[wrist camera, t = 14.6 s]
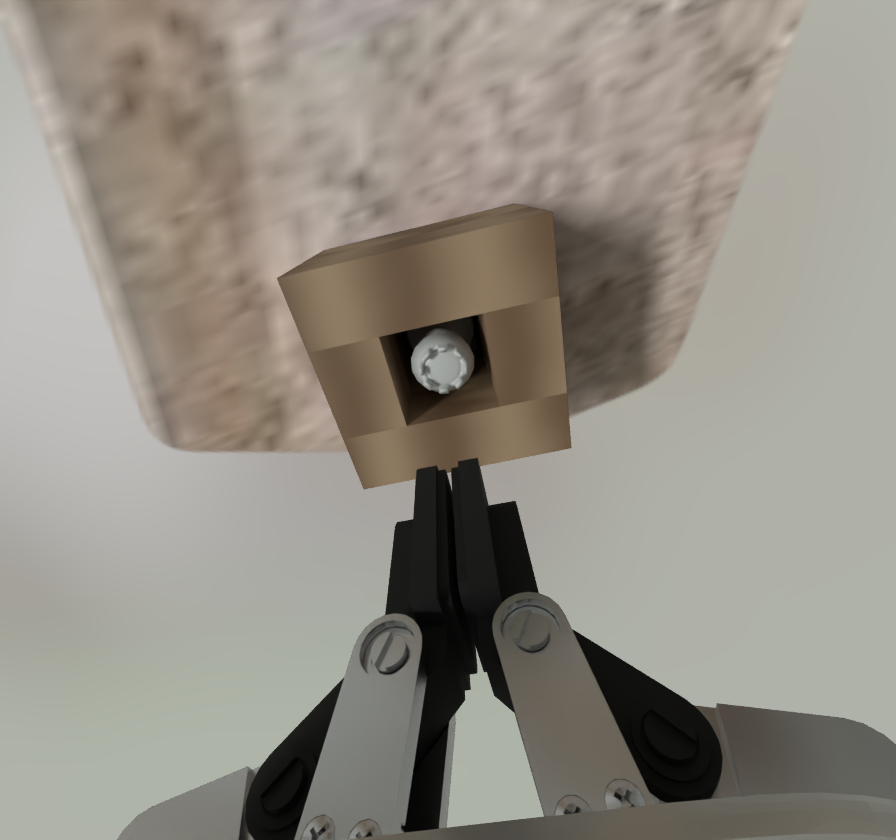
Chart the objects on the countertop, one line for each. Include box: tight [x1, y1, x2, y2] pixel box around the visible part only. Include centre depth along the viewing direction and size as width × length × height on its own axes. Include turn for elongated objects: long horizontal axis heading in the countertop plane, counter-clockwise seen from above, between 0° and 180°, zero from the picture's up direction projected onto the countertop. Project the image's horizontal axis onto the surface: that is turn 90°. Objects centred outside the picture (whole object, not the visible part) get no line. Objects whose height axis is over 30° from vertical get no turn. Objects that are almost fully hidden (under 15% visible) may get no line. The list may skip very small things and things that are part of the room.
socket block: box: [277, 204, 571, 489], centre depth 24 cm, size 12×12×9 cm
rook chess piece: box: [407, 316, 474, 394], centre depth 24 cm, size 4×4×8 cm
